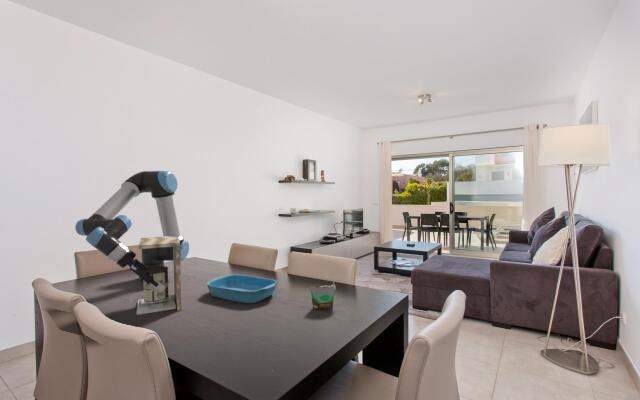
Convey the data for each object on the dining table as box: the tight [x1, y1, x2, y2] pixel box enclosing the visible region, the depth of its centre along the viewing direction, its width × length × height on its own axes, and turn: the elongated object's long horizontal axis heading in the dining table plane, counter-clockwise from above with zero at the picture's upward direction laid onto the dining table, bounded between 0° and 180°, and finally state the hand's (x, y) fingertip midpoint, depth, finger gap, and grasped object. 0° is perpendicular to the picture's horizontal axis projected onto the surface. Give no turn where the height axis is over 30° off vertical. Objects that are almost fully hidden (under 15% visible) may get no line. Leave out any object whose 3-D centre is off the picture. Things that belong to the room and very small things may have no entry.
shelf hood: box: [138, 236, 182, 312], centre depth 148 cm, size 16×24×30 cm, turn 27°
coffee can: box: [142, 266, 169, 303], centre depth 147 cm, size 10×10×14 cm
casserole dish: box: [206, 274, 278, 304], centre depth 161 cm, size 37×22×7 cm, turn 62°
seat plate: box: [136, 294, 177, 316], centre depth 147 cm, size 15×18×2 cm
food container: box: [309, 282, 337, 311], centre depth 142 cm, size 12×6×10 cm, turn 117°
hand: (163, 286), depth 149 cm, fingers closed on coffee can, 10 cm apart
